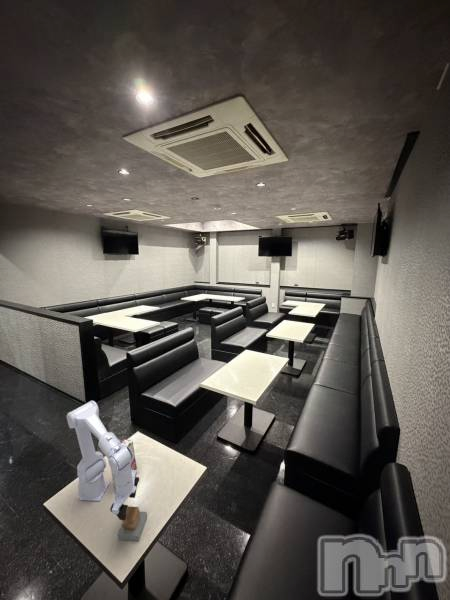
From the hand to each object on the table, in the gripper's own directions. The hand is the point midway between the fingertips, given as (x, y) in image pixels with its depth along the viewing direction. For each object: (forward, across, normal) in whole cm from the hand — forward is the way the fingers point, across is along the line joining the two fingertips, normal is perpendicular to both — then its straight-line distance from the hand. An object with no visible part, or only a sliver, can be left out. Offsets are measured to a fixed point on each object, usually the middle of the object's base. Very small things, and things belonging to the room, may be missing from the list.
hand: (127, 507), depth 89 cm
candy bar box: (+11, +19, +12) cm, 25 cm away
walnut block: (+8, 0, -1) cm, 8 cm away
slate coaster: (+11, 0, -1) cm, 11 cm away
